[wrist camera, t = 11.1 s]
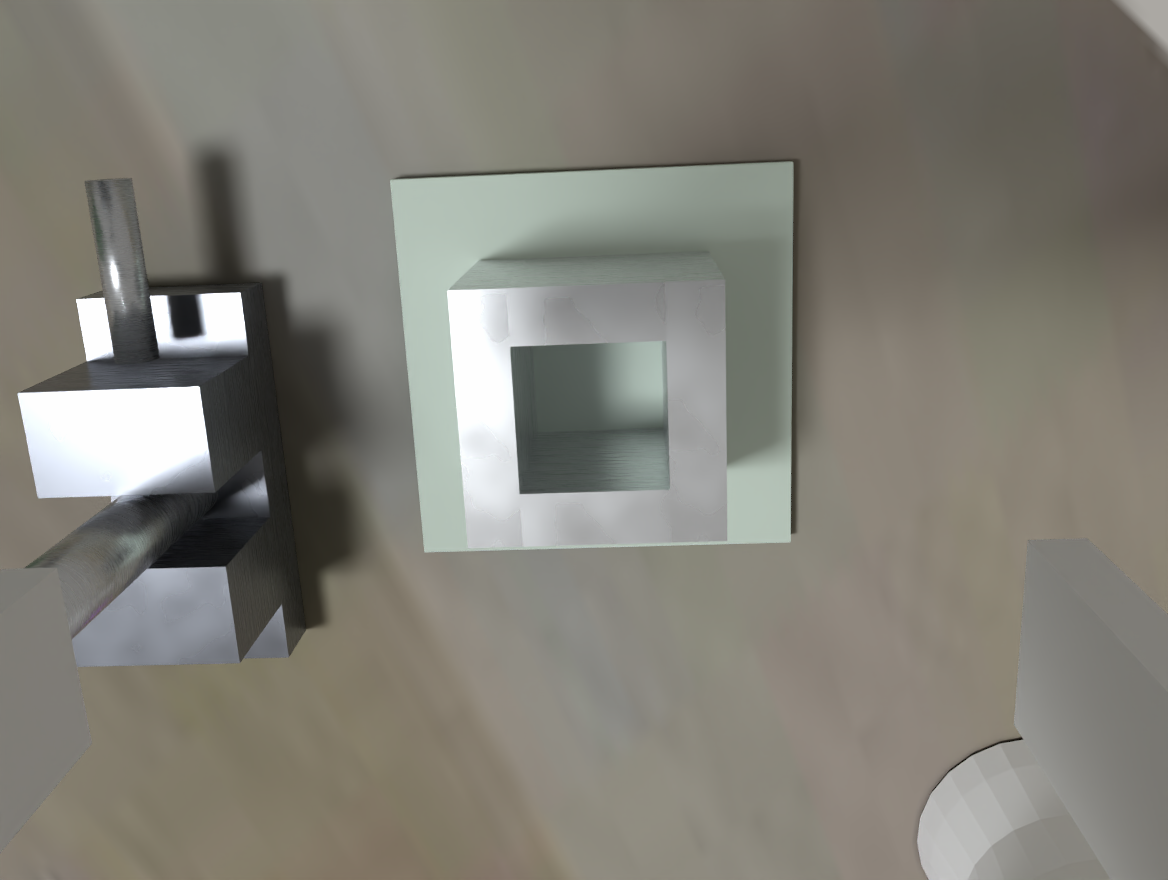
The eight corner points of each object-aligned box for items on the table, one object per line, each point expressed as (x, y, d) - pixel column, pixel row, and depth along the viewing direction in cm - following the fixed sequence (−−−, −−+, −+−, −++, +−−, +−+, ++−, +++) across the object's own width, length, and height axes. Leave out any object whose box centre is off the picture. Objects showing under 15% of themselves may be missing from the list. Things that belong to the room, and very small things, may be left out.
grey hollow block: (478, 260, 34) (447, 290, 28) (708, 251, 33) (725, 279, 28) (493, 478, 36) (467, 548, 30) (711, 471, 35) (727, 541, 30)
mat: (394, 178, 34) (390, 180, 33) (790, 160, 33) (793, 161, 33) (427, 545, 37) (424, 552, 37) (787, 535, 37) (790, 542, 36)
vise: (87, 175, 34) (-244, 213, 21) (247, 168, 34) (10, 202, 21) (164, 633, 38) (-73, 897, 26) (305, 630, 38) (139, 894, 25)
